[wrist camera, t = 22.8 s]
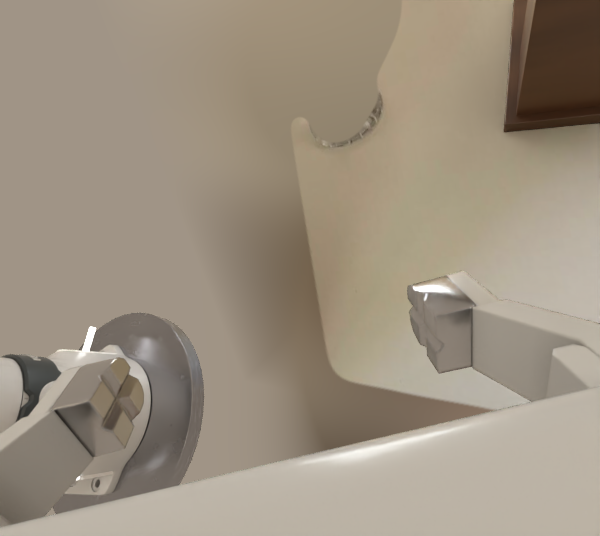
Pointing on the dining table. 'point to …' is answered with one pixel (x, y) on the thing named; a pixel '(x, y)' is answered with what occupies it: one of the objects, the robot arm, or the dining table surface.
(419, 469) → the robot arm
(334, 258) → the dining table surface
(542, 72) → the stand
